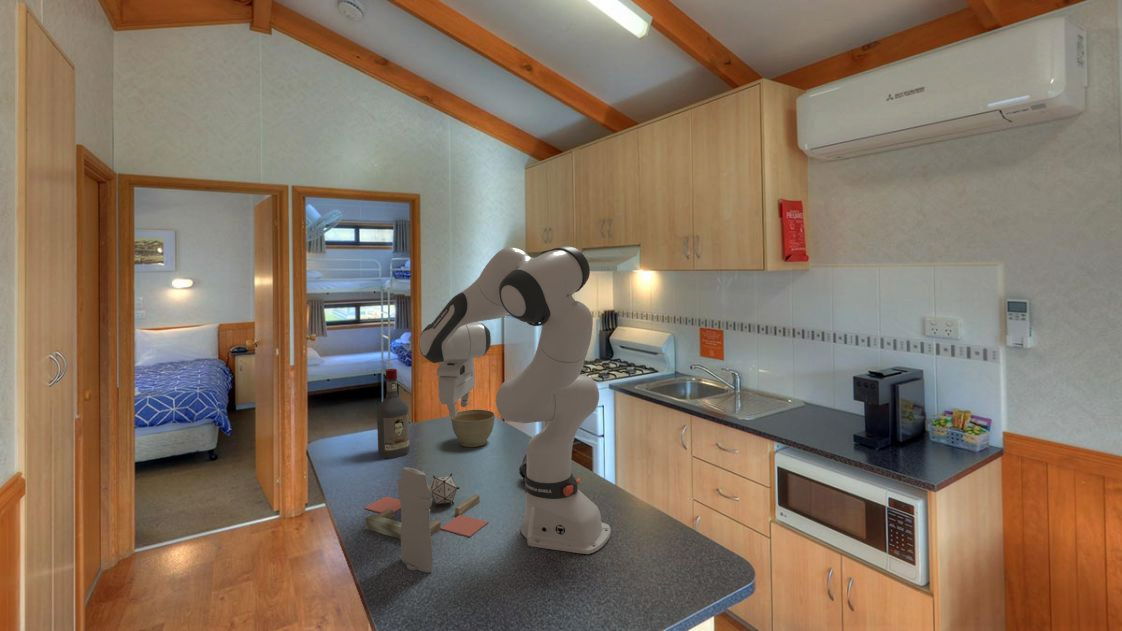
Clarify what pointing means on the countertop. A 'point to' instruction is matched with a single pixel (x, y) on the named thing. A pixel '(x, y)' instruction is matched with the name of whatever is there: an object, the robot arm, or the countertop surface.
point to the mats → (457, 525)
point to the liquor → (392, 421)
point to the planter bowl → (473, 426)
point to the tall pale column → (415, 520)
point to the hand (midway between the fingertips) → (458, 411)
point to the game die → (443, 489)
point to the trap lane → (393, 528)
